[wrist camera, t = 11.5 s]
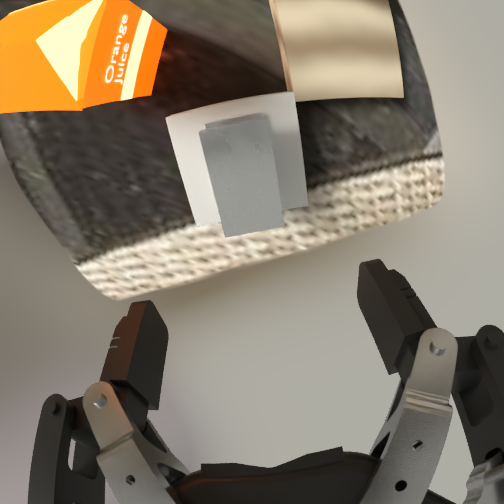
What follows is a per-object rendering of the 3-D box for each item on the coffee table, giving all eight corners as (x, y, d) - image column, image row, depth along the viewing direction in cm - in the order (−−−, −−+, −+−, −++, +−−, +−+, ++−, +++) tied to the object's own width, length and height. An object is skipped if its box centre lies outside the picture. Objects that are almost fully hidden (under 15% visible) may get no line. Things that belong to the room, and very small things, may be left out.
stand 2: (268, -2, 18) (272, -10, 16) (374, 2, 18) (387, -4, 15) (288, 100, 25) (295, 102, 23) (389, 95, 24) (403, 97, 22)
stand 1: (172, 114, 25) (165, 117, 23) (287, 91, 24) (293, 91, 22) (199, 214, 32) (197, 226, 29) (301, 194, 31) (308, 205, 29)
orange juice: (94, 29, 18) (-45, 10, 1) (168, 28, 20) (66, -43, 3) (80, 93, 22) (-64, 138, 5) (151, 97, 24) (23, 132, 7)
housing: (206, 122, 23) (198, 132, 18) (259, 111, 23) (267, 118, 18) (226, 207, 28) (225, 237, 23) (274, 198, 28) (284, 226, 23)
